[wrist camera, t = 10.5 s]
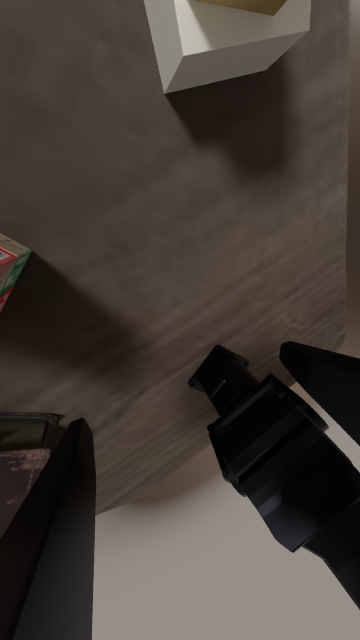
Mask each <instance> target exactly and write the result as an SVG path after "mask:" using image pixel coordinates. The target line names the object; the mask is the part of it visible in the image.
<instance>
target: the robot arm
mask: <svg viewBox="0 0 360 640" xmlns="http://www.w3.org/2000/svg"><path fill="white" fill-rule="evenodd" d="M217 349H218V350H217ZM279 358H280V361H281V362H282V364H283V365H284V366H285V367H286V368H287V370H288V371H289V372H290V373H291V375H292V376H293V377H294V378H295V379H296V381H297V382H298V383H299V384H300V385H301V387H302V388H303V389H304V390H305V391H306V392H307V393H308V394H309V395H310V396H311V397H312V398H313V399H314V400H315V401H316V402H317V403H318V404H319V405H320V406H321V407H322V408H323V409H324V410H325V411H326V412H327V413H328V414H329V415H330V416H331V417H332V418H333V419H334V420H335V421H336V422H337V423H338V424H339V425H340V426H341V428H343V430H344V431H345V432H346V433H347V434H348V435H349V436H350V437H351V438H352V439H353V440H354V441H355V442H356V443H357V444H358V445H359V446H360V359H359V358H355V357H351V356H347V355H343V354H339V353H335V352H332V351H328V350H324V349H320V348H316V347H312V346H308V345H304V344H300V343H296V342H292V341H287V342H285V343H282V344H281V347H280V355H279ZM248 365H249V361H248V360H247V359H245V358H243V357H241V356H239V355H237V354H235V353H234V352H232V351H230V350H228V349H226V348H224V347H222V346H221V345H216V346H215V347H214V348H213V350H212V351H211V352H210V354H209V355H208V356H207V358H206V359H205V360H204V361H203V363H202V364H201V365H200V367H199V368H198V369H197V371H196V372H195V373H194V375H193V376H192V377H191V379H190V380H189V381H188V385H189V387H191V388H194V389H197V390H199V391H202V392H205V393H206V395H207V396H208V398H209V399H210V401H211V402H212V404H213V406H214V407H215V409H216V411H217V412H218V414H219V415H220V417H219V418H218V419H217V420H216V421H215V422H213V423H212V424H210V425H208V426H207V429H208V431H209V437H210V439H211V442H212V445H213V448H214V451H215V454H216V457H217V460H218V462H219V465H220V468H221V470H222V474H223V477H224V479H225V480H226V481H227V482H229V483H231V484H232V485H233V487H234V488H235V489H236V490H237V491H238V493H239V494H241V495H242V496H243V497H246V496H248V498H249V499H250V501H251V502H252V503H253V505H254V506H255V507H256V509H257V511H258V512H259V514H260V515H261V517H262V518H263V520H264V521H265V523H266V525H267V526H268V528H269V530H270V531H271V533H272V535H273V536H274V538H275V539H276V540H277V541H278V542H279V543H280V544H282V545H283V546H284V547H285V548H287V549H288V550H289V551H291V552H293V553H294V552H295V551H297V550H298V549H299V548H300V547H303V548H305V549H307V550H309V551H310V552H312V553H313V554H315V555H317V556H319V557H320V558H322V559H323V560H324V562H325V563H326V564H327V566H328V567H329V568H330V570H331V571H332V572H333V574H334V575H335V576H336V578H337V579H338V580H339V582H340V583H341V585H342V586H343V587H344V589H345V590H346V592H347V593H348V594H349V596H350V597H351V598H352V600H353V601H354V603H355V604H356V605H357V607H358V608H359V609H360V473H359V471H358V470H357V469H356V468H355V467H354V466H353V464H352V462H351V461H350V459H349V458H348V457H347V456H346V455H345V454H344V453H343V452H342V451H341V450H340V449H339V448H338V447H337V446H336V444H335V443H334V442H333V441H332V440H331V439H330V438H329V437H328V436H327V435H326V434H325V433H324V432H325V431H326V430H327V429H328V428H329V426H328V425H327V424H326V422H325V421H324V420H323V419H322V418H321V417H320V416H319V414H317V412H316V411H315V410H314V409H313V408H311V406H310V405H308V403H306V402H305V401H304V400H303V399H302V398H301V397H300V396H298V395H297V394H296V393H295V392H294V391H292V390H291V389H290V388H288V387H287V386H286V385H285V384H283V383H282V382H281V381H280V380H278V379H277V378H276V377H275V376H273V375H272V374H271V373H270V374H268V375H267V376H266V378H265V379H264V380H263V381H262V382H260V383H259V382H258V381H257V380H256V379H255V377H254V376H253V375H252V374H251V373H250V372H249V371H248V370H247V369H246V367H247V366H248ZM95 507H96V470H95V458H94V445H93V435H92V431H91V429H90V427H89V426H88V424H87V422H86V420H85V419H84V418H80V419H77V420H74V421H72V422H71V423H70V424H69V426H68V428H67V429H66V431H65V433H64V434H63V436H62V438H61V439H60V441H59V443H58V444H57V446H56V448H55V449H54V451H53V453H52V454H51V456H50V458H49V459H48V461H47V463H46V464H45V466H44V468H43V469H42V471H41V473H40V474H39V476H38V477H37V479H36V481H35V482H34V484H33V486H32V487H31V489H30V491H29V492H28V494H27V496H26V497H25V499H24V501H23V502H22V504H21V506H20V507H19V509H18V511H17V512H16V514H15V516H14V517H13V519H12V521H11V522H10V524H9V526H8V527H7V529H6V531H5V532H4V534H3V536H2V537H1V539H0V640H92V612H93V607H92V606H93V576H94V542H95V541H94V540H95Z"/></svg>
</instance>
